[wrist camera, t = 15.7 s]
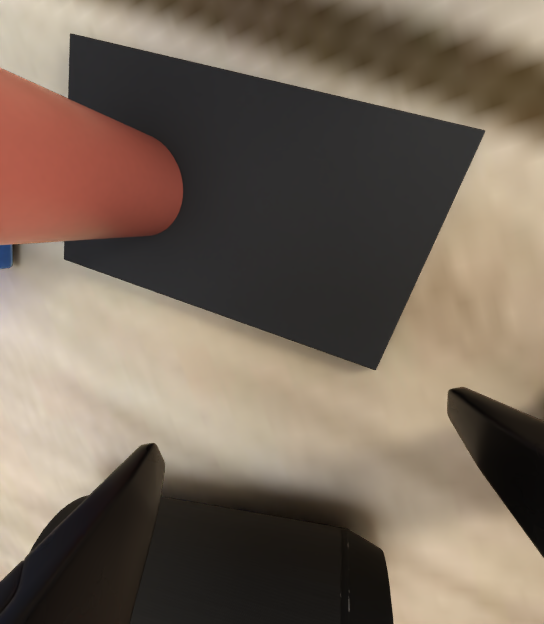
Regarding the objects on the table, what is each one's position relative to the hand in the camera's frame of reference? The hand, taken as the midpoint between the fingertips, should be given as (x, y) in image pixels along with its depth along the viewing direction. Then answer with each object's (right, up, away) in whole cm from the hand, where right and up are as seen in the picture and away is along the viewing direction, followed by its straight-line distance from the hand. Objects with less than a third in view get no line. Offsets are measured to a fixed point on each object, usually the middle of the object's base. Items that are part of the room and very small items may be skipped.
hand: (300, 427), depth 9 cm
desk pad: (-3, +10, +10) cm, 14 cm away
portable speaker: (-5, -15, +18) cm, 24 cm away
